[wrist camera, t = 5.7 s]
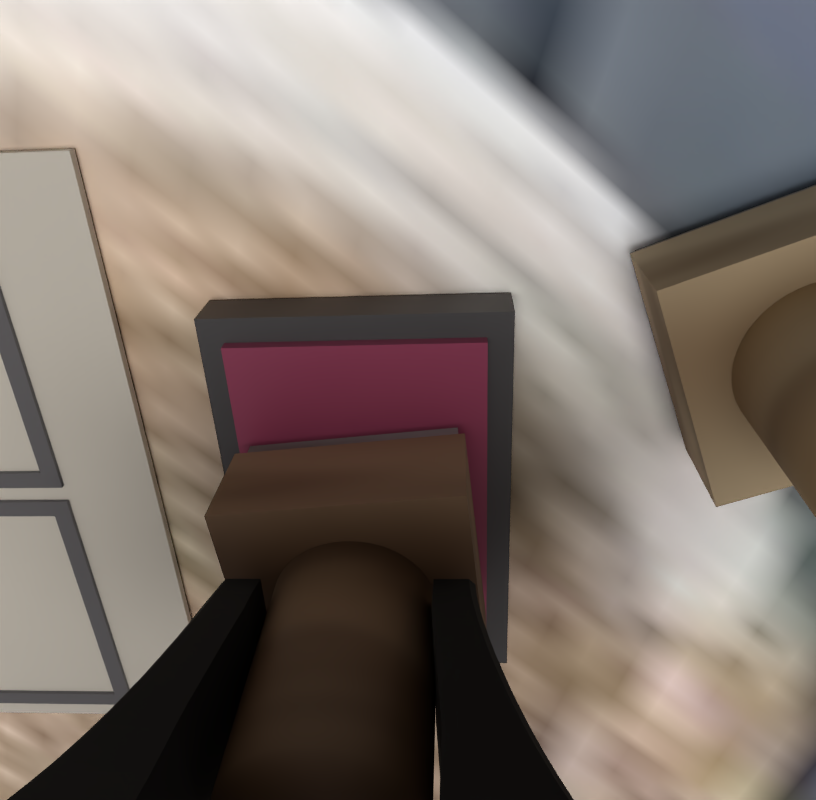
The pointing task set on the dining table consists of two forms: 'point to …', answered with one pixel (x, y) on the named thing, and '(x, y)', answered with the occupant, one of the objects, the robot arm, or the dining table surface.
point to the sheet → (72, 463)
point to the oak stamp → (741, 344)
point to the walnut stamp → (343, 610)
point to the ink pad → (375, 389)
